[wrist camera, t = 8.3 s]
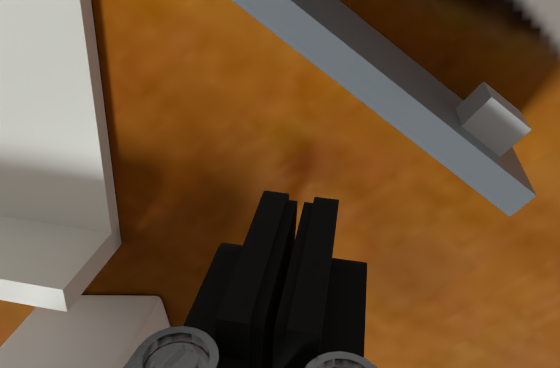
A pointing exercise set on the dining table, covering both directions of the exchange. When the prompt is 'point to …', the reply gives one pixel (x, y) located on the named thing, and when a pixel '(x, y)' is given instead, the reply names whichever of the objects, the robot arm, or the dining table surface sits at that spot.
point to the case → (52, 155)
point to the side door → (408, 95)
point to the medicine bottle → (85, 333)
